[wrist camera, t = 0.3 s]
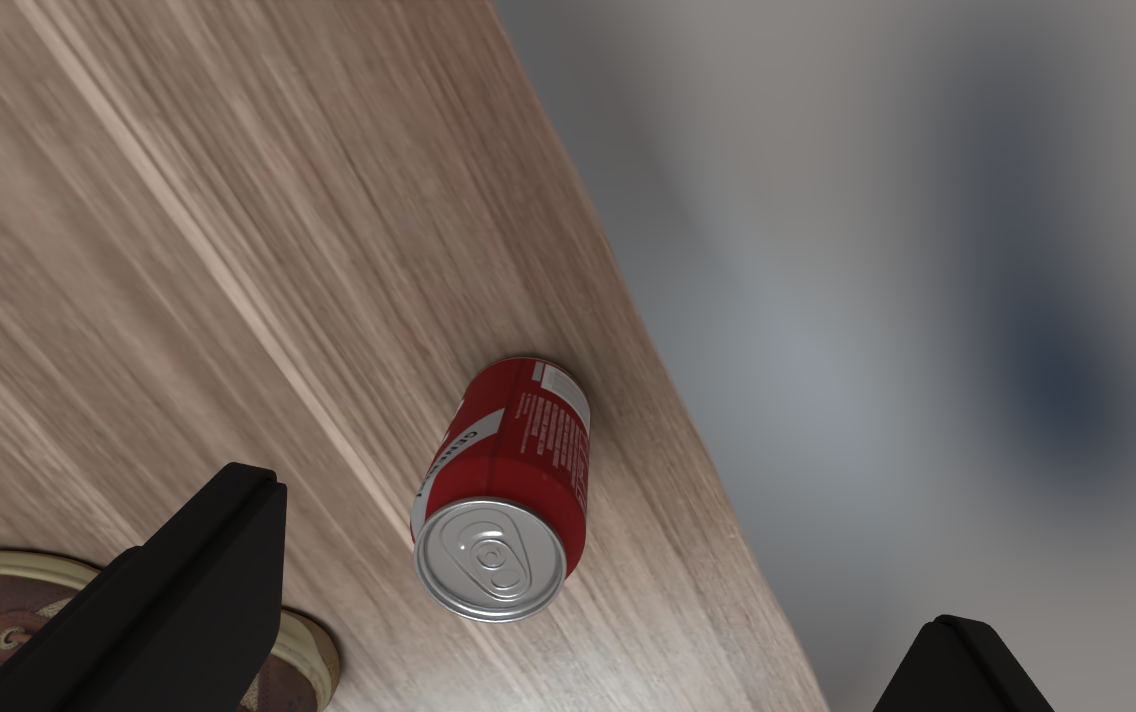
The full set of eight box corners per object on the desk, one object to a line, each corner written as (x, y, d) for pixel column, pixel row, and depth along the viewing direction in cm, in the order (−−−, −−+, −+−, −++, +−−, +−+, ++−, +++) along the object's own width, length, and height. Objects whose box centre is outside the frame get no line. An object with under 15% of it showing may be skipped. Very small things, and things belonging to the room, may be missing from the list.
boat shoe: (-98, 647, 43) (-314, 817, 33) (-140, 517, 39) (-403, 666, 28) (343, 722, 43) (263, 912, 33) (349, 602, 39) (260, 778, 29)
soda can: (557, 331, 32) (532, 458, 20) (611, 439, 34) (614, 605, 23) (441, 380, 33) (359, 523, 22) (500, 480, 35) (452, 656, 24)
